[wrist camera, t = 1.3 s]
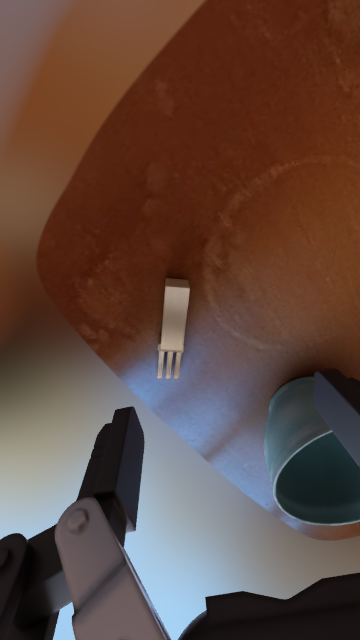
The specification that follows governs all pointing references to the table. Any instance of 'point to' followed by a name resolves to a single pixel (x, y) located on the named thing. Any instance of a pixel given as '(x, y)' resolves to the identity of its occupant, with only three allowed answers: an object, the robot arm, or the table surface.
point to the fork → (173, 325)
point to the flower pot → (309, 460)
